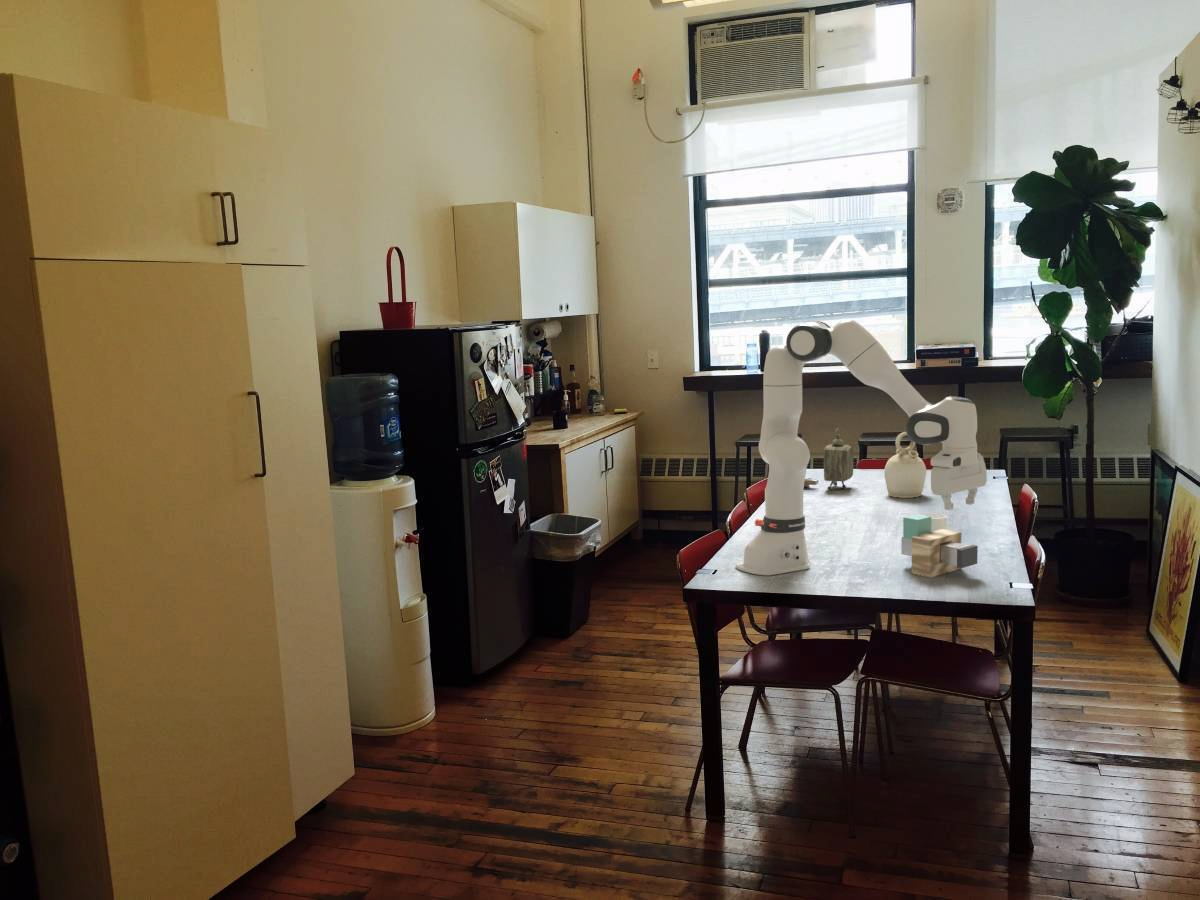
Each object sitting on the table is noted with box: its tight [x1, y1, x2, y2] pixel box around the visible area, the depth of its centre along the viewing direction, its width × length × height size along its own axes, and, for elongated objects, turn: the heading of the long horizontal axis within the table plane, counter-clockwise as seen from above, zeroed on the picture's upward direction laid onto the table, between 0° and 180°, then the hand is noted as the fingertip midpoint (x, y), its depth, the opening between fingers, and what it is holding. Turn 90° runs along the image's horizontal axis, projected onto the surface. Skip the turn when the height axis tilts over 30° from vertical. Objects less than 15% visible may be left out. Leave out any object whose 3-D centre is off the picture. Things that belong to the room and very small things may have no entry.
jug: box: [883, 431, 927, 499], centre depth 384 cm, size 15×16×25 cm
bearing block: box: [911, 528, 962, 579], centre depth 277 cm, size 14×6×10 cm, turn 125°
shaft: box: [900, 536, 979, 569], centre depth 277 cm, size 7×20×5 cm, turn 35°
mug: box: [919, 512, 948, 532], centre depth 295 cm, size 12×8×12 cm
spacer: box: [902, 514, 932, 540], centre depth 282 cm, size 6×5×6 cm
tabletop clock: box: [823, 427, 854, 491], centre depth 404 cm, size 14×9×25 cm, turn 154°
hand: (959, 506), depth 270 cm, fingers open, 8 cm apart
